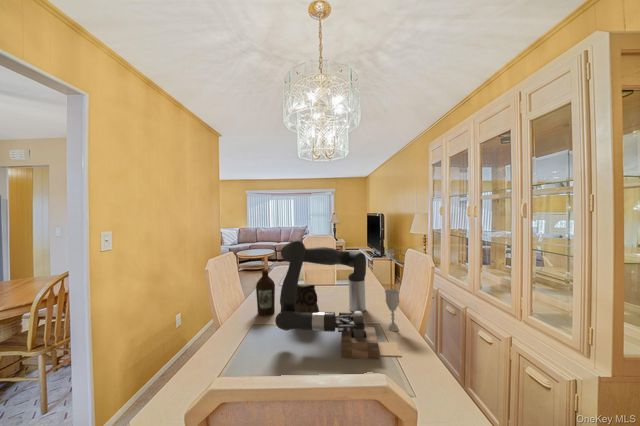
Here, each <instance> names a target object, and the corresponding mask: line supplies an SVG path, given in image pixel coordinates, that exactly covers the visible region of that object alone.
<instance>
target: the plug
mask: <svg viewBox="0 0 640 426" xmlns="http://www.w3.org/2000/svg"><path fill="white" fill-rule="evenodd" d="M352 313H353V322H352V323H364V324H365V322H364V313H363V312H361V311H355V312H352ZM354 338H364V329H355V330H354Z"/></svg>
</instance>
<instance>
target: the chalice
mask: <svg viewBox="0 0 640 426" xmlns="http://www.w3.org/2000/svg"><path fill="white" fill-rule="evenodd" d="M384 293H385V303H386V305H387V307H388V309H389V311H391V313H390V315H391V318H390V320H391V322H390V323H389V324H388V327H387V330H388V331H390V332H397V331H399V326H398V324H397V323H396V322H395V311H397V309H398V306H399V305H400V304H399V303H400V290H399V289H394V288H389V289H388V288H387V289H385V290H384Z"/></svg>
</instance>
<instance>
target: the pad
mask: <svg viewBox="0 0 640 426" xmlns="http://www.w3.org/2000/svg"><path fill="white" fill-rule="evenodd" d="M378 353H379V355H380V356H379V357H397V358H398V357H399V358H401V357H402V354H401V351H400V348H399V345H398V343H397V342H390V341H389V342H387V341H386V342H384V341H383V342H382V341H378Z"/></svg>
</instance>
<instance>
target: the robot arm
mask: <svg viewBox="0 0 640 426" xmlns="http://www.w3.org/2000/svg"><path fill="white" fill-rule="evenodd" d="M280 256H281V258H283V260H284V261H285V262H288V263H289V265H288V269H287V272H286V275H285V276H284V279H283V282H282V284H281V290H280V296H279V304H280V312H279V313H278V314H276V316H275V318H274V321H275V325H276V327H278V329H280V330H282V331H285V332H286V331H290V330H300V331H310V332H311V331H313V332H328V333H329V332H330V333H331V332H334V333H335V332H336V329H337V332H338V333H342V332H353V330H355V329H365V327H366V326H365V322H364V323H353V313H354V312H355V311H361V312H362V313H363V312H365V311H366V278H365V277H366V274H367V258H366V255H365V253H363V252H359V251H353V250H352V251H351V250H349V251H342V250H338V249H336V248H333V247H327V246H316V247H305V243H303V242H302V241H301V240H298V239H295V240H293V241H290V242H289V243H286V244H285V245H284V246H282V248H281V250H280ZM303 263H310V264H317V265H326V266H336V265H343V266H345V267H346V266H347V267H350V268H353V272H351V273H349V275H348V299H349V300H348V301H349V303H348V305H349V306H348V307H349V310H350V311H351V312H339V313H338V315H336V312H334V311H319V312H313V313H312V312H305V313H299V312H295V302H296V295H297V286H298V284H299V279H300V274H301V270H302V267H303ZM349 329H350V330H349Z"/></svg>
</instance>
